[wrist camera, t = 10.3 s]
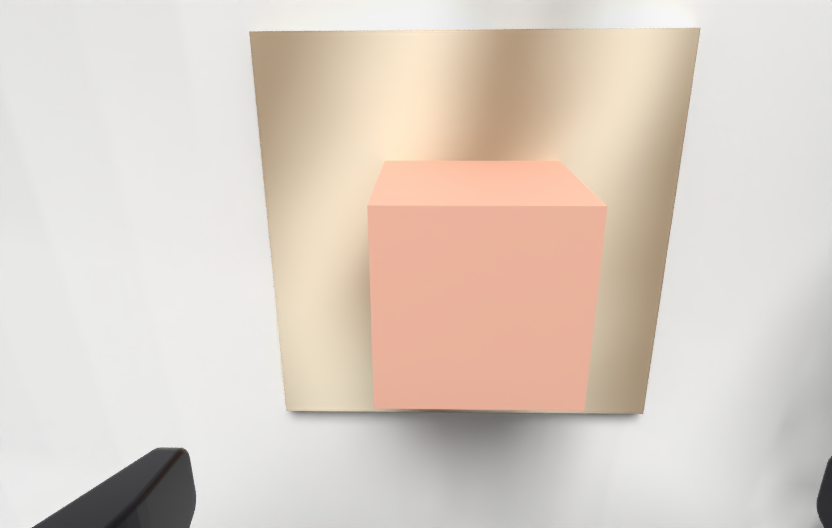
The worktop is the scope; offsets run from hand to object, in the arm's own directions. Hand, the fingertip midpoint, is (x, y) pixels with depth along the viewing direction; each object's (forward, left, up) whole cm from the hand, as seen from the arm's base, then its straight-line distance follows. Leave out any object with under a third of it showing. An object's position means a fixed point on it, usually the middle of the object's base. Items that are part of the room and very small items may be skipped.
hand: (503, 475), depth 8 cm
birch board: (0, 0, -11) cm, 11 cm away
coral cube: (0, 0, -10) cm, 10 cm away
